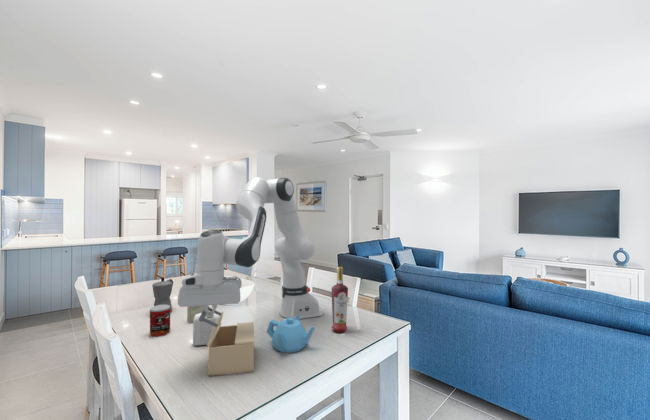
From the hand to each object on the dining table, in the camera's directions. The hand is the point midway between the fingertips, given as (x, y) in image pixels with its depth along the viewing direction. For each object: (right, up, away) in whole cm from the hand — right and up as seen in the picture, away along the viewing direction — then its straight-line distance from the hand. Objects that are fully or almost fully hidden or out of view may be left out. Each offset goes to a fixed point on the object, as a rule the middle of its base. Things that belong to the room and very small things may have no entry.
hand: (209, 317), depth 104 cm
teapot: (+26, -16, +14) cm, 34 cm away
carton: (+7, -16, +2) cm, 18 cm away
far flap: (+2, -4, +1) cm, 5 cm away
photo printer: (-7, -16, +15) cm, 23 cm away
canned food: (-31, -16, +25) cm, 43 cm away
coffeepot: (-43, -16, +51) cm, 68 cm away
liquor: (+46, -16, +29) cm, 57 cm away
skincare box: (-22, -16, +39) cm, 48 cm away
